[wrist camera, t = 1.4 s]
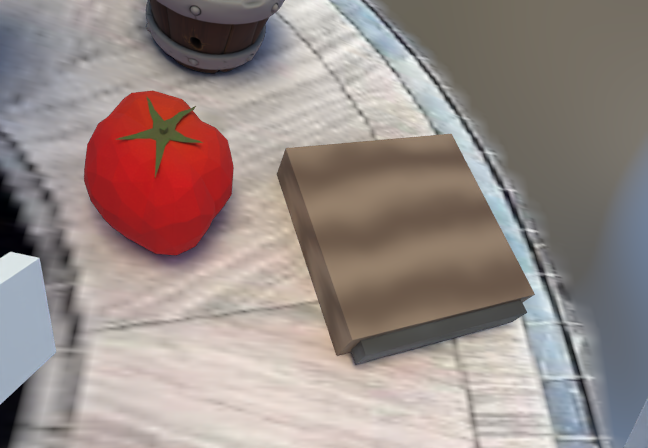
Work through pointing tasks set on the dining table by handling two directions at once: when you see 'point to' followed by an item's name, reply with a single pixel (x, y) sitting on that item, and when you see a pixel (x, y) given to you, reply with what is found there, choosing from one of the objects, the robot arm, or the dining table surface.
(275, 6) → the flowerpot
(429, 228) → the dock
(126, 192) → the tomato
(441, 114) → the dining table surface
